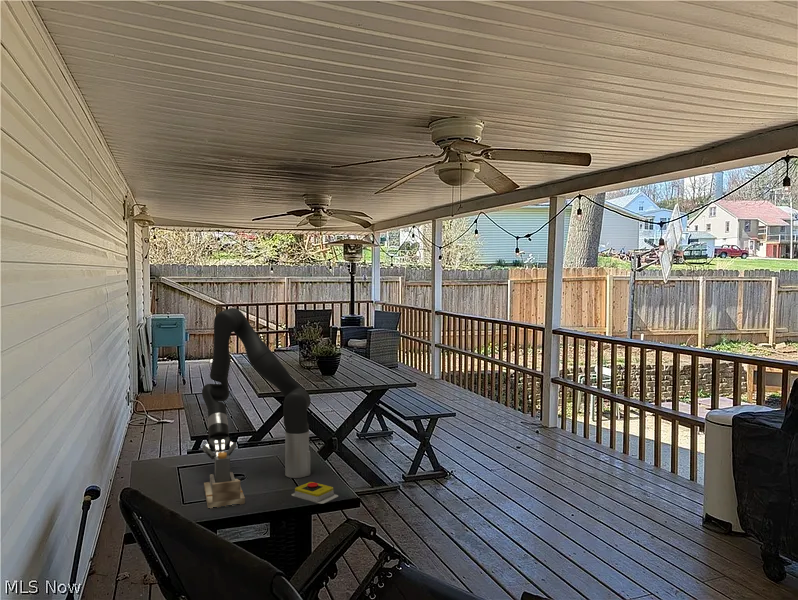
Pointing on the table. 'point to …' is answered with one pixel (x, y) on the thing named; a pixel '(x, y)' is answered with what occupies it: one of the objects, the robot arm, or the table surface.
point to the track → (223, 492)
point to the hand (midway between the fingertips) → (221, 467)
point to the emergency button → (315, 492)
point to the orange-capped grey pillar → (222, 467)
